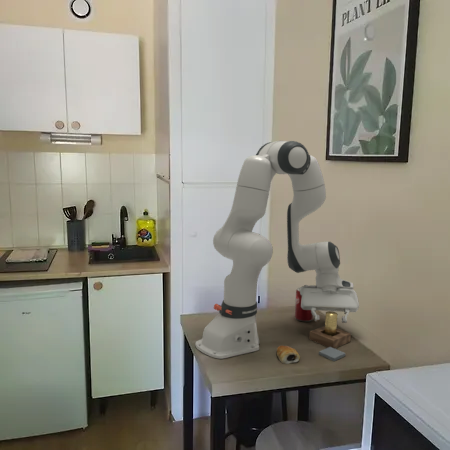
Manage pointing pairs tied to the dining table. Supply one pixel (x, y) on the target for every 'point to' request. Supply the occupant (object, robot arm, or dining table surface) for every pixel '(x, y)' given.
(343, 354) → the mat
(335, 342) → the wooden square frame
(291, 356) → the pastry
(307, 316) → the soda can
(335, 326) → the peg
